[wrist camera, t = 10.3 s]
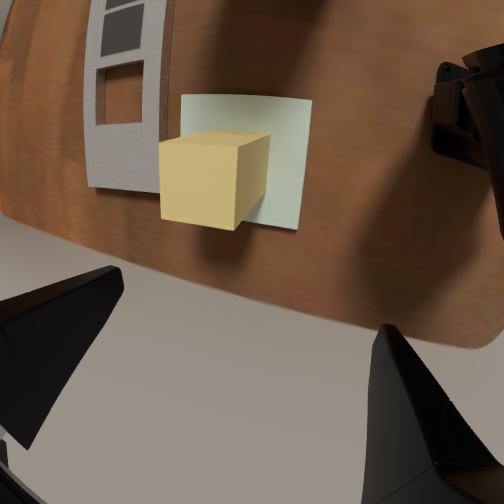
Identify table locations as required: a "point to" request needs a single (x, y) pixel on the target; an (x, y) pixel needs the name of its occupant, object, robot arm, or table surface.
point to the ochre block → (213, 176)
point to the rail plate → (154, 92)
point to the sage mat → (281, 144)
